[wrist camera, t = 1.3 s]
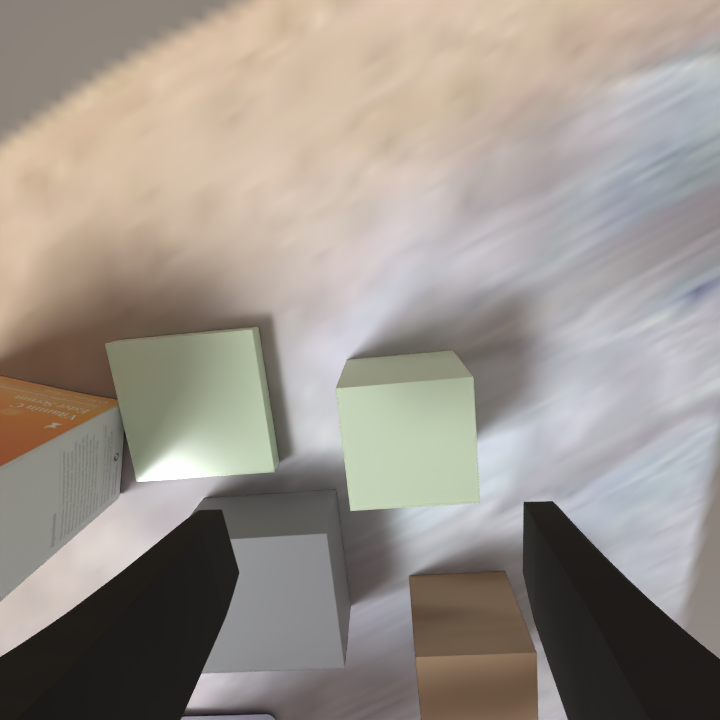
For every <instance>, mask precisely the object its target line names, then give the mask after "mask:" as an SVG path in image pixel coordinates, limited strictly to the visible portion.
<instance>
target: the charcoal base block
mask: <svg viewBox="0 0 720 720" xmlns="http://www.w3.org/2000/svg"><path fill="white" fill-rule="evenodd" d="M217 509H222V511H223V515H224V519H225V522H226V526H227V529H228V533H229V537H230V540H231V544H232V547H233V551H234V555H235V558H236V562H237V565H238V569H239V577H238V580H237V583H236V587H235V590H234V594H233V597H232V600H231V603H230V606H229V610H228V613H227V616H226V618H225V620H224V623H223V625H222V628H221V630H220V632H219V634H218V637H217V639H216V641H215V644H214V646H213V648H212V650H211V653H210V655H209V657H208V659H207V662H206V664H205V666H204V668H203V671H202V673H228V672H256V671H284V670H311V669H339V668H345V660H346V650H347V640H348V629H349V619H350V609H351V604H350V596H349V588H348V580H347V572H346V564H345V556H344V548H343V540H342V532H341V525H340V517H339V509H338V501H337V493H336V489H333V490H318V491H303V492H289V493H274V494H259V495H244V496H230V497H215V498H204V499H203V500H202V501H201V503H200V504H199V505H198V506H197V508H196V509H195V510H194V512H193V513H192V514H191V516H192V515H193V514H194V513H196V512H197V511H198V510H217Z"/></svg>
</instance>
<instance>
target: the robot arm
mask: <svg viewBox="0 0 720 720" xmlns="http://www.w3.org/2000/svg"><path fill="white" fill-rule="evenodd" d="M523 575H524V579H525V584H526V588H527V592H528V597H529V601H530V605H531V610H532V614H533V618H534V621H535V624H536V627H537V630H538V633H539V636H540V639H541V642H542V645H543V648H544V651H545V654H546V657H547V660H548V663H549V666H550V669H551V672H552V674H553V677H554V680H555V683H556V686H557V689H558V692H559V695H560V698H561V701H562V703H563V706H564V709H565V712H566V715H567V718H568V720H720V659H719V658H718V657H716V656H715V655H714V654H713V653H711V652H710V651H709V650H707V649H706V648H705V647H704V646H703V645H701V644H700V643H699V642H698V641H697V640H695V639H694V638H693V637H692V636H691V635H689V634H688V633H687V632H686V631H685V630H684V629H682V628H681V627H680V626H679V625H678V624H677V623H675V622H674V621H673V620H672V619H671V618H670V617H669V616H667V615H666V614H665V613H664V612H663V611H662V610H661V609H660V608H659V607H657V606H656V605H655V604H654V603H653V602H652V601H651V600H650V599H648V598H647V597H646V596H645V595H644V594H643V593H642V592H641V591H640V590H639V589H638V588H637V587H636V586H635V585H633V584H632V583H631V582H630V581H629V580H628V579H627V578H626V577H625V576H624V575H623V574H622V573H621V572H620V571H619V570H618V569H617V568H616V567H615V566H614V565H613V564H612V563H611V562H610V561H609V560H608V559H607V558H606V557H605V556H604V555H603V554H602V553H601V552H600V551H599V550H598V549H597V548H596V547H595V546H594V545H593V544H592V543H591V542H590V541H589V540H588V539H587V537H586V536H585V535H584V534H583V533H582V532H581V531H580V530H579V529H578V528H577V527H576V526H575V525H574V524H573V522H572V521H571V520H570V519H569V518H568V517H567V516H566V515H565V514H564V513H563V511H562V510H561V509H560V508H559V507H558V506H557V505H556V504H555V503H554V502H553V501H547V502H524V526H523ZM238 577H239V569H238V565H237V562H236V558H235V555H234V551H233V547H232V544H231V540H230V537H229V533H228V529H227V526H226V522H225V519H224V515H223V511H222V509H217V510H198V511H197V512H196V513H194V514H193V515H192V516H190V517H189V518H188V519H186V520H185V521H184V522H182V523H181V524H180V525H179V526H177V527H176V528H175V529H174V530H172V531H171V532H170V533H169V534H168V535H166V536H165V537H164V538H163V539H161V540H160V541H159V542H158V543H157V544H155V545H154V546H153V547H152V548H150V549H149V550H148V551H147V552H145V553H144V554H143V555H142V556H141V557H139V558H138V559H137V560H136V561H134V562H133V563H132V564H131V565H129V566H128V567H127V568H126V569H124V570H123V571H122V572H121V573H119V574H118V575H117V576H115V577H114V578H113V579H111V580H110V581H109V582H107V583H106V584H105V585H104V586H102V587H101V588H100V589H98V590H97V591H96V592H94V593H93V594H92V595H90V596H89V597H88V598H86V599H85V600H84V601H82V602H81V603H80V604H78V605H77V606H76V607H74V608H73V609H72V610H70V611H69V612H67V613H66V614H65V615H63V616H62V617H60V618H59V619H57V620H56V621H55V622H53V623H52V624H50V625H49V626H47V627H46V628H44V629H43V630H41V631H40V632H38V633H37V634H35V635H34V636H32V637H31V638H29V639H28V640H26V641H25V642H23V643H22V644H20V645H19V646H17V647H16V648H14V649H12V650H11V651H9V652H8V653H6V654H4V655H3V656H1V657H0V720H275V719H274V718H273V717H272V716H271V715H268V714H259V715H225V716H190V717H182V716H183V713H184V711H185V709H186V707H187V704H188V702H189V700H190V698H191V695H192V693H193V691H194V689H195V686H196V684H197V682H198V680H199V677H200V675H201V673H202V671H203V668H204V666H205V664H206V662H207V659H208V657H209V655H210V653H211V650H212V648H213V646H214V644H215V641H216V639H217V637H218V634H219V632H220V630H221V628H222V625H223V623H224V620H225V618H226V616H227V613H228V610H229V606H230V603H231V600H232V597H233V594H234V590H235V587H236V583H237V580H238Z"/></svg>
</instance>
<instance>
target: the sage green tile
mask: <svg viewBox="0 0 720 720" xmlns="http://www.w3.org/2000/svg"><path fill="white" fill-rule="evenodd" d="M105 347H106V351H107V356H108V360H109V364H110V369H111V373H112V377H113V382H114V386H115V390H116V395H117V399H118V403H119V408H120V412H121V416H122V420H123V425H124V429H125V433H126V438H127V442H128V446H129V451H130V455H131V459H132V464H133V468H134V472H135V477H136V481H137V482H143V481H157V480H171V479H185V478H199V477H213V476H227V475H241V474H255V473H269V472H275V470H276V468H277V467H278V465H279V457H278V450H277V444H276V437H275V431H274V424H273V418H272V411H271V405H270V399H269V392H268V386H267V379H266V373H265V366H264V360H263V353H262V347H261V340H260V334H259V327H258V326H257V327H247V328H237V329H227V330H216V331H206V332H196V333H186V334H175V335H165V336H155V337H145V338H134V339H124V340H116V341H113V342H110V343H106V344H105Z"/></svg>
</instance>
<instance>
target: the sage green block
mask: <svg viewBox="0 0 720 720" xmlns="http://www.w3.org/2000/svg"><path fill="white" fill-rule="evenodd" d="M336 395H337V404H338V412H339V420H340V429H341V437H342V445H343V454H344V462H345V470H346V478H347V487H348V495H349V503H350V511H359V510H374V509H390V508H405V507H421V506H437V505H452V504H468V503H480V494H479V475H478V455H477V435H476V416H475V396H474V377H473V375H472V374H471V373H470V372H469V370H468V369H467V368H466V367H465V365H464V364H463V363H462V361H461V360H460V359H459V358H458V356H457V355H456V354H455V353H454V351H453V350H449V351H438V352H427V353H416V354H405V355H393V356H382V357H371V358H360V359H349V360H347V361H346V363H345V366H344V368H343V371H342V374H341V376H340V379H339V381H338V384H337V386H336Z"/></svg>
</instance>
